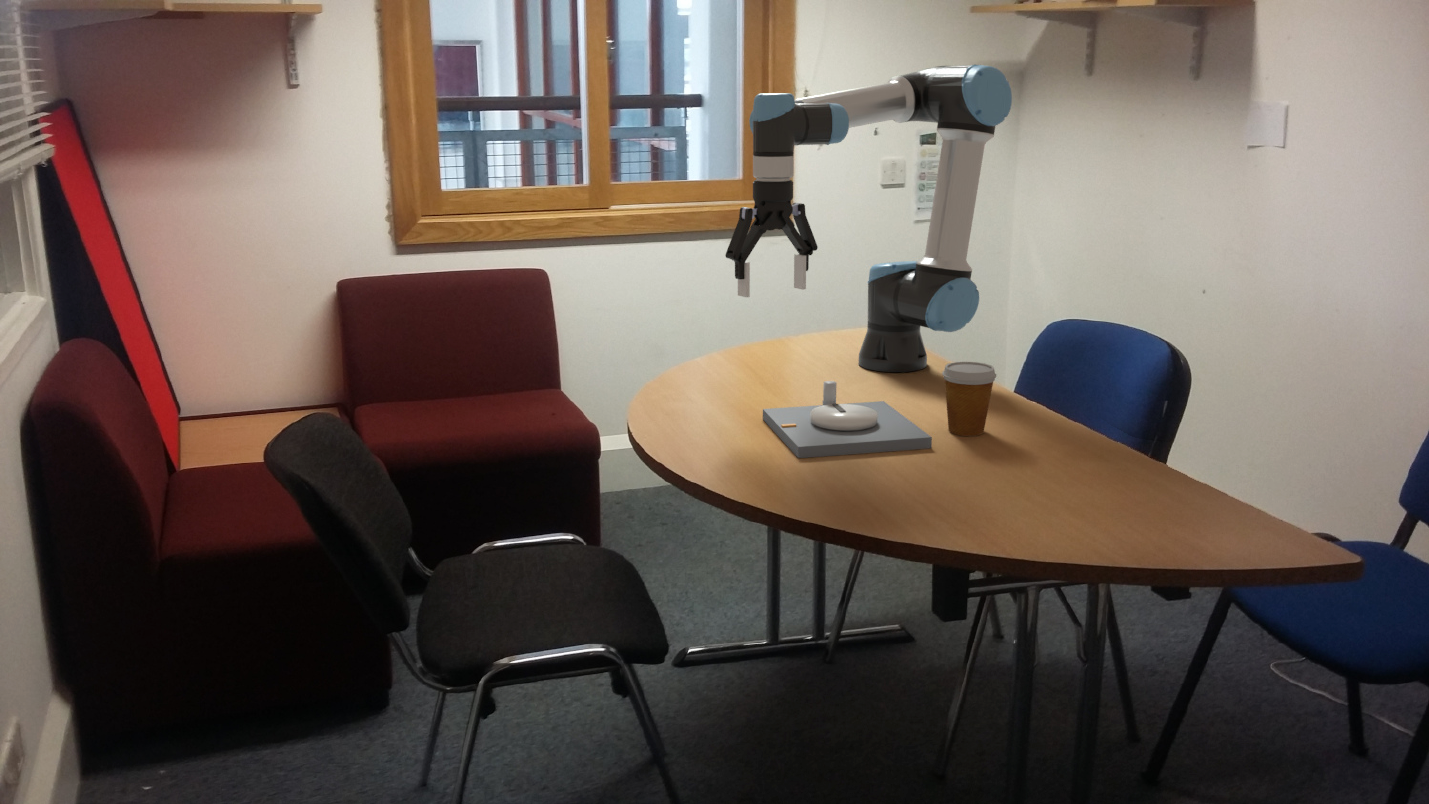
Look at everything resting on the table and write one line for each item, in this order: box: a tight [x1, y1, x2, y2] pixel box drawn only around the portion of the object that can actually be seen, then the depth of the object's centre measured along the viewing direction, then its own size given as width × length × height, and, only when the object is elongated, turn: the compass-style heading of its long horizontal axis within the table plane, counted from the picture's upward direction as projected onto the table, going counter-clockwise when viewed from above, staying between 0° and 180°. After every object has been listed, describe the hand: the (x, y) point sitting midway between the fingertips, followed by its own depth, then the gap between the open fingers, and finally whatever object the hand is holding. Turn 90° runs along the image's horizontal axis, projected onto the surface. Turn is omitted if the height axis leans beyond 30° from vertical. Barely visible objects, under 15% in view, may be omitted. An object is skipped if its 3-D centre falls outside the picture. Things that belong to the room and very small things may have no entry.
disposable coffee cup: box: [941, 361, 997, 437], centre depth 210 cm, size 10×10×12 cm
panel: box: [762, 400, 933, 459], centre depth 210 cm, size 24×24×2 cm
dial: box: [810, 380, 878, 431], centre depth 211 cm, size 16×12×5 cm
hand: (772, 292), depth 221 cm, fingers open, 13 cm apart
